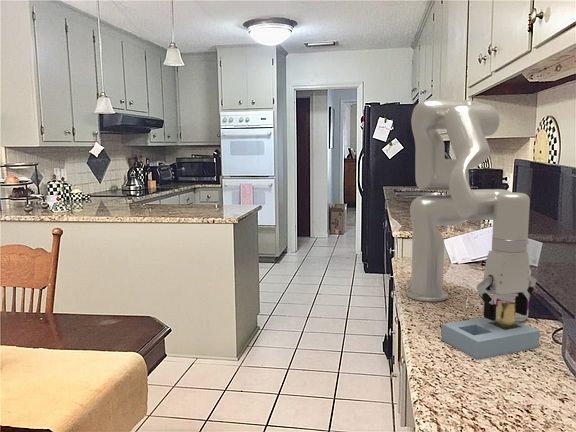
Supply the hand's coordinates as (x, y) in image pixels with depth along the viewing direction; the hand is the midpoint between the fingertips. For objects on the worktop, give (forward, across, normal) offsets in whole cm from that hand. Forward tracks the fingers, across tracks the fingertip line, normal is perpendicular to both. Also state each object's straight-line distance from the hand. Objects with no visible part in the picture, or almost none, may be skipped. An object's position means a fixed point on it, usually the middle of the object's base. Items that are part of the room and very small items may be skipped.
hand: (505, 316), depth 117 cm
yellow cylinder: (+5, 0, 0) cm, 5 cm away
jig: (+6, +4, 0) cm, 8 cm away
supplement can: (+6, -14, -12) cm, 20 cm away
